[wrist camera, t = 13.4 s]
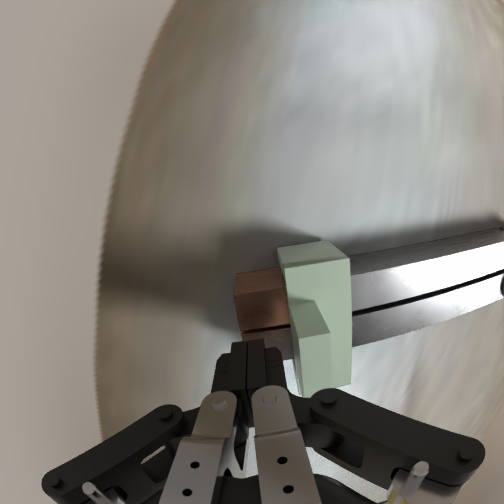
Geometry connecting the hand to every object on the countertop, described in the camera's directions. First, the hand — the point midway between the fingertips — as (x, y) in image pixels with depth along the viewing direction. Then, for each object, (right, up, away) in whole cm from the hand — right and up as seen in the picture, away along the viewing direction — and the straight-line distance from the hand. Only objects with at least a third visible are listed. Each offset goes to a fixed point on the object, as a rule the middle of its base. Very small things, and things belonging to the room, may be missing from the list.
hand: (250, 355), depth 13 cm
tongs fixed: (+11, +3, +4) cm, 13 cm away
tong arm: (+10, +2, +4) cm, 11 cm away
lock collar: (+4, +2, +5) cm, 6 cm away
